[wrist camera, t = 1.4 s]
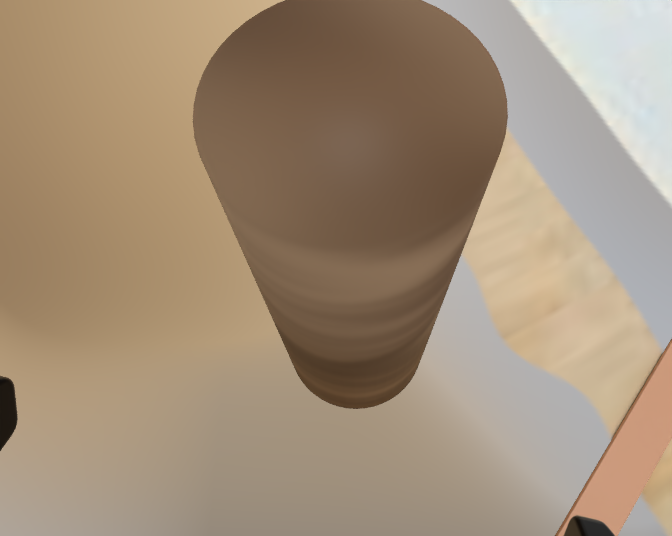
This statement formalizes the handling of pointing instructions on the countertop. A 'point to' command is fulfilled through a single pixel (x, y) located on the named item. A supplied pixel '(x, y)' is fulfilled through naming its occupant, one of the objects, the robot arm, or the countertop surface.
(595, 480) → the terracotta line strip
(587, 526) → the robot arm
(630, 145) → the countertop surface
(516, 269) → the countertop surface
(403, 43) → the smooth brown cylinder
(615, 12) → the countertop surface
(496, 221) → the countertop surface
